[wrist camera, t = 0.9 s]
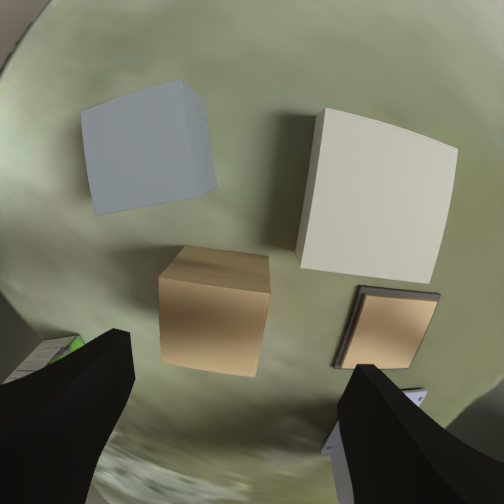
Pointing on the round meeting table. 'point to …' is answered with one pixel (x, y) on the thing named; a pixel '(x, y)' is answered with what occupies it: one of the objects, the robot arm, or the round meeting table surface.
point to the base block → (374, 199)
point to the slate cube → (148, 148)
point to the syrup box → (46, 355)
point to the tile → (386, 327)
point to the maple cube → (214, 310)
